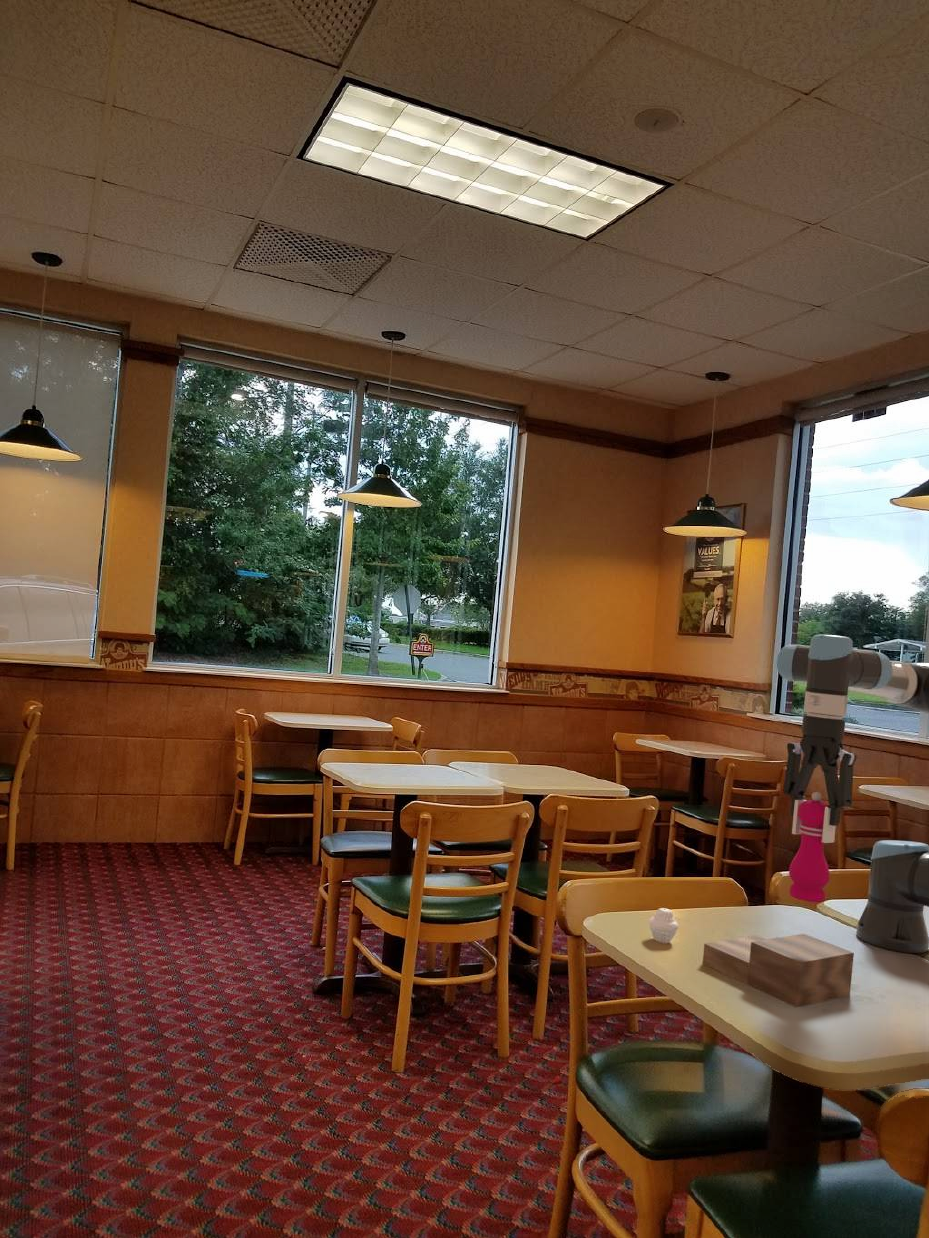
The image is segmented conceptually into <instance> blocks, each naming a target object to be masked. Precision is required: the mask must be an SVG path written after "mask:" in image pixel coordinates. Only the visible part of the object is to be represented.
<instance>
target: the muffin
mask: <svg viewBox="0 0 929 1238" xmlns="http://www.w3.org/2000/svg"><path fill="white" fill-rule="evenodd" d="M648 925H649V930H650V932H651V935H652V937H653V940H654V941H655V940H656V941H655V942H657V941H658V942H657V943H660V942H662V943H661V944H669V943H671V941H672V940H673V938H674V937H675V935H676V934H677V931H678V929H679V924H678V922H677V920H675V917H674V913H673V912H672V910H671V909H668V908H666V907H664V908H663V907H661V908H658V909H657V910H656V912H655V914H654V915H653V916H652V917H650V919H649V920H648Z"/></svg>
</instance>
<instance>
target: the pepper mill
mask: <svg viewBox="0 0 929 1238" xmlns="http://www.w3.org/2000/svg"><path fill="white" fill-rule="evenodd" d="M806 800H807V799H806ZM821 800H822V794H821V793H820V792H819V791H815V792H813V793H812V794H811V799H808V800H807V801H805V802H803V803H802V804H801V805H800V807H799V810H798V816H799V818H800V820H801V822H802V824H800V829H799V831H800V832H801V834H800V835H801V836H800V837H801V840H800V845H799V848H798V850H797V853H796V854H795V856H794V857H793V859H792V861H791V864H790V865H789V869H788V875H789V877H790V879H791V881H792V882H793V883H792V884H790V886H789V895H790V897H792V898H794V899H797V900H801V901H805V902H807V903H809V902H810V903H824V902H825V900H826V891H825V889H824V887H826V885H828V884H829V882H830V878H831V877H830V869H829V865H828V862H827V860H826V857H825V851H824V843H823V842H822V835H823V824H824V814H825V807H827V805H828V804H827V803H825V802H824V801H821Z"/></svg>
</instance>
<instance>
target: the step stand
mask: <svg viewBox="0 0 929 1238" xmlns="http://www.w3.org/2000/svg"><path fill="white" fill-rule="evenodd" d="M854 955H855V952H853V951H850V950H847V949H845V948H843V947H840V946H837V945H834V944H833V943H829V942H827V941H824V940H821V939H818V938H816V937H814V936H811V935H808V934H805V933H800V934H791V935H786V936H781V937H774V938H767V939H766V938H765V937H761V936H759V935H751V936H744V937H739V938H731V939H726V940H724V939H723V940H717V941H712V942H706V943H703V954H702V956H703V957H702V964H703V965H705V966H707V967H709V968H711V969H714V970H715V971H717V972H720V973H722V974H724V975H727V976H729V977H731V978H733V979H735V980H737V981H739V982H741V983H744V984H746V985H748V986H750V987H752V988H755V989H757V990H759V991H761V992H763V993H765V994H767V995H770V996H772V997H774V998H776V999H779V1000H780V1001H782V1002H785V1003H787V1004H790V1005H791V1006H793V1007H795V1008H799V1007H803V1006H808V1005H813V1004H817V1003H821V1002H822V1003H823V1002H827V1001H830V1000H834V999H839V998H844V997H849V996H851V989H852V988H851V986H852V976H853V968H854V967H853V965H854V957H855V956H854Z"/></svg>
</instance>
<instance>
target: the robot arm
mask: <svg viewBox="0 0 929 1238" xmlns="http://www.w3.org/2000/svg"><path fill="white" fill-rule="evenodd" d="M776 668H777V669H776V670H777V671H778V673H779V675H780V676H781V677H782V678H783V679H785V680H791V681H794V682H804V683H806V687H805V693H804V695H805V696H804V703H803V704H804V705H803V712H804V713H805V715H804V716H802V724H801V733H802V738H801V739H800V742H795V743H794V742H789V743H787V745H786V748H787V760H786V761H787V762H786V769H785V774H784V775H785V776H784V782H783V788H782V789H783V790H782V792H783V793H784V794H785V795H788V796H790V798H791V804H790V806H791V807H790V814H791V816H793V817H792V828H791V835H801V832H800V831H799V829H800V824H802V822H801V820H800V818H799V816H798V810H799V807H800V805H801V804H802V803H803V802H805V801H807V799H806V798H807V797H806V793H807V789H808V786H809V784H810V781H811V779H812V776H813V774H814V771H815V769H816V768H817V767H818V766H820V767H821V771H822V772H823V775H824V776H823V777H824V782H825V787H826V794H827V799H828V804H827V807H825V814H824V824H823V835H822V842H823V844H828V843H829V844H831V843H835V836H836V827H838V826H839V825H840V823H841V822H840V821H841V811H842V808H849V807H852V805H853V789H854V787H853V786H854V785H853V784H854V766H855V763H856V761H857V759H858V758H857V754H856V753H850V752H848V751H846V750H845V749H844V747H843V739H844V736H845V729H846V721H845V719H843V718H845V717H847V709H848V695H849V691H853V692H857V693H862V694H868V695H872V696H877V697H882V698H883V700H884V701H886V702H888V703H891V704H895V705H899V706H902V707H906V708H908V709H909V708H910V709H912V710H916V711H919V712H921V713H925V714H929V662H904V661H897V660H896V661H892V662H891V660H890V658H889V657H888V656H887V655H886V654H884V653H883V652H878V651H875V650H870V649H869V650H868V649H858V648H854V647H853V640H852V639H851V637H848V636H841V635H832V634H815V635H813V636H812V637H811V639H810V645H802V644H800V643H798V644H787V645H785V646H783V647H782V648H781V649H780V650H779V652H778V654H777V659H776ZM802 753H803V757H802ZM838 759H839V762H840V763H839V765H838ZM838 771H839V773H838ZM868 882H869V883H868V884H869V885H868V895H867V901H866V905H865V907H864V910H862V913H861V916H860V918H859V920H858V921H857V925H856V933H855V934H856V936H857V937H858V938H859V939H860V940H862V941H864V942H866V943H868V944H871V945H872V946H875V947H879V948H883V949H885V950H890V951H895V952H902V953H911V954H921V953H923V954H924V953H926V951H927V950H928V948H929V934H928V933H929V932H928V928H927V924H926V921H925V917H924V916H925V915H924V907H927V908H929V844H927V843H924V842H917V841H909V840H896V839H895V840H893V839H892V840H891V839H890V840H889V839H888V840H886V839H885V840H878V841H876V842H875V843H874V845H873V846H872V853H871V857H870V871H869V880H868ZM928 951H929V950H928ZM928 951H927V952H928Z"/></svg>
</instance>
